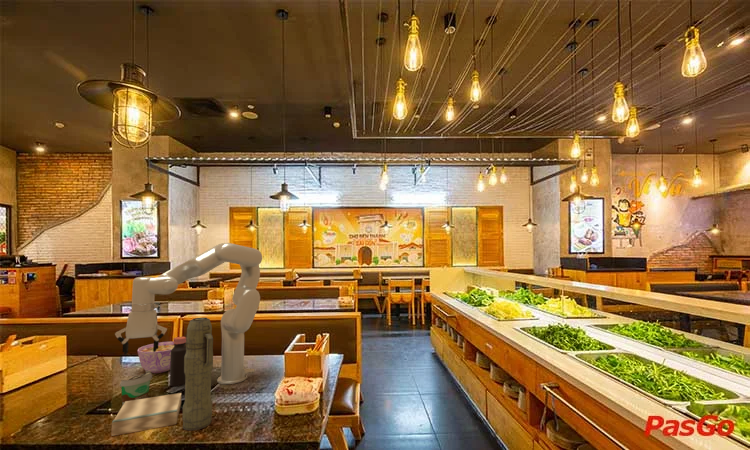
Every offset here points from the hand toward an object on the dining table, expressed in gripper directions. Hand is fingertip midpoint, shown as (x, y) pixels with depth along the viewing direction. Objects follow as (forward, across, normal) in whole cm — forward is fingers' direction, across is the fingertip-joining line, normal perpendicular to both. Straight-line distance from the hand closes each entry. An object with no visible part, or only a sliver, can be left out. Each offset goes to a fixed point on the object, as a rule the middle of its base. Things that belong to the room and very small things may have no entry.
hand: (140, 352), depth 139 cm
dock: (+19, -6, +18) cm, 27 cm away
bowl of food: (+19, -2, -40) cm, 44 cm away
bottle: (+19, -12, -15) cm, 27 cm away
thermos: (+19, -22, +30) cm, 42 cm away
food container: (+19, 0, 0) cm, 19 cm away
